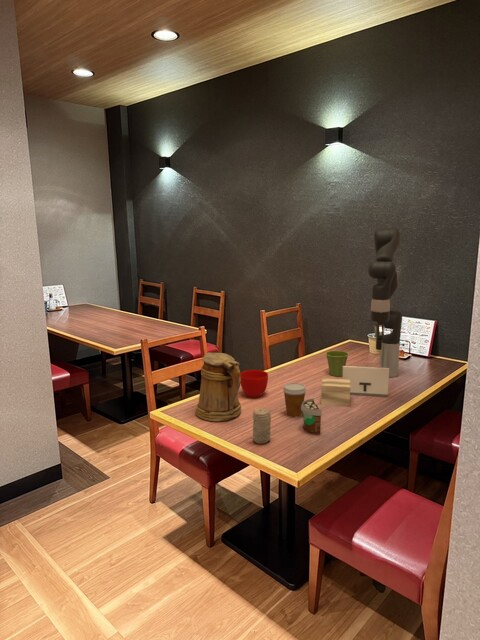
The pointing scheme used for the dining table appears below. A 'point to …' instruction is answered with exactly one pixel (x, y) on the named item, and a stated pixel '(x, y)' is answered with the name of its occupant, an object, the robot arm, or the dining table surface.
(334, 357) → the plant pot
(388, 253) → the robot arm
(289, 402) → the disposable coffee cup
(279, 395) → the dining table surface
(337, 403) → the beech block
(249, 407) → the dining table surface
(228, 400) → the tankard
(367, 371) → the letter sign
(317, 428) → the food container
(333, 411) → the dining table surface
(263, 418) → the beige textured cylinder
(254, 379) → the ceramic cup
